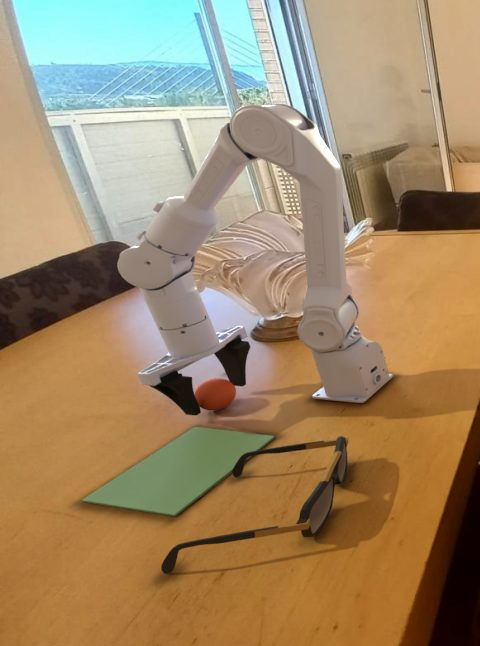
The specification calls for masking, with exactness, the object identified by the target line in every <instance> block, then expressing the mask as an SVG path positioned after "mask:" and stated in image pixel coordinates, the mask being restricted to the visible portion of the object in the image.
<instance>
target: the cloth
mask: <svg viewBox="0 0 480 646" xmlns="http://www.w3.org/2000/svg"><path fill="white" fill-rule="evenodd" d="M275 438H276V436H275V435H268V434H261V433H253V432H252V433H251V432H244V431H234V430H226V429H219V428H218V429H217V428H210V427H209V428H208V427H200V426H194V427H192V428H190V429H189V430H187V431H186V432H184V433H183V434H181V435H179V436H178V437H177V438H175V439H173V440H172V441H170V442H169V443H167V444H166V445H164V446H163V447H161V448H159V449H158V450H156V451H155V452H153V453H152V454H151V455H149V456H147V457H146V458H144V459H142V460H141V461H139V462H138V463H137V464H135V465H133V466H132V467H130V468H128V469H127V470H125V471H124V472H122V473H120V474H119V475H118V476H116V477H115V478H113V479H111V480H110V481H109V482H107V483H106V484H104V485H102V486H100V487H99V488H98V489H96V490H94V491H93V492H92V493H90V494H89V495H87V496H86V497H84V498H82V499H81V502H82V503H87V504H93V505H99V506H106V507H113V508H120V509H125V510H131V511H139V512H142V513H143V512H144V513H149V514H150V513H151V514H157V515H163V516H170V517H177V516H178V515H180V514H181V513H182V512H183V511H184V510H186V509H187V508H189V506H191V505H192V504H194V503H195V502H196V501H197V500H198V499H199V498H200V497H202V496H204V495H205V494H206V493H207V492H208V491H210V490H211V489H212V488H214V487H215V486H216V485H218V484H219V483H220V482H221V481H222V480H224V479H226V477H228V476H229V475H230V474H232V470H233V468H234V466H235V464H236V463H237V461H238V460H239V458H240V457H241V456H242V455H243V454H245V453H247V452H252V451H257V450H262V449H263V448H264V447H265V446H266V445H268V444H269V443H270V442H272V441H273V440H274V439H275ZM251 457H252V456H249V457H247V458H246V461H248V460H249V459H250V458H251Z"/></svg>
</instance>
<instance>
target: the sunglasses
mask: <svg viewBox="0 0 480 646" xmlns="http://www.w3.org/2000/svg"><path fill="white" fill-rule="evenodd" d="M348 444H349V437H346V436H343V435H340V436H337V438H333V439H327V440H326V439H325V440H318V441H310V442H303V443H302V442H301V443H295V444H289V445H282V446H277V447H271V448H270V447H269V448H264V449H263V448H262V449H260V450H257V451H252V452H247V453H245V454H243V455H242V456H241V457H240V458H239V460H238V461H237V463H236V464H235V466H234V468H233V470H232V472H231V474H232V476H233V477H234V478H239V477H241V475H242V474H243V472H244V468H245V464H246V461H247V460H246V458H247V457H249V456H251V457H254V456H259V455H267V454H269V455H270V454H283V453H291V452H299V451H307V450H315V449H321V448H328V447H335V448H334V451H333V455H332V457H331V459H330V461H329V462H328V464H327V466H326V468H325V471H324V473H323V475H322V477H321V479H320V481H319V482H318V483H317V485H316V486H315V488H314V489H313V491H312V492H311V493H310V495H309V496H308V497H307V499H306V500H305V502H304V503H303V504H302V506H301V508H300V511H299V516H298V520H297V521H296V522H295V523H289V524H288V523H287V524H282V525H275V526H269V527H263V528H256V529H250V530H246V531H245V530H244V531H239V532H234V533H233V532H232V533H227V534H221V535H217V536H212V537H206V538H200V539H196V540H191V541H186V542H181V543H178V544H176V545H174V546H173V547H172V548H171V549H170V550H169V552H168V553H167V555H166V556H165V557H164V559H163V562H162V564H161V567H160V569H161V572H162V573H163V574H165V575H169V574H171V573H173V571H174V570H175V567H176V564H177V559H178V555H179V552H180V551H181V550H183V549H187V548H192V547H193V548H194V547H198V546H205V545H218V544H225V543H226V544H227V543H233V542H237V541H244V540H249V539H257V538H264V537H268V536H269V537H270V536H275V535H276V536H277V535H282V534H287V533H294V532H298V531H300V532H301V535H302V537H303V538H314V537H315V536H318V534H319V533H320V532H321V530H323V528H324V526H325V524H326V523H327V521H328V519H329V517H330V514H331V512H332V508H333V504H334V496H335V487H336V486H337V485H339V486H340V485H343V484H344V482H345V480H346V476H347V471H348V449H347V446H348Z"/></svg>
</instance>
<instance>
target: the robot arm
mask: <svg viewBox="0 0 480 646" xmlns="http://www.w3.org/2000/svg"><path fill="white" fill-rule="evenodd" d="M261 160H263V161H265V162H267V163H270V164H273V165H275V166H276V167H279V168H280V169H282V170H283V171H284V172H285V173H287V174H288V175H290V176H291V177H292V178H293V179H295V180H296V181H297V182H298V184H299V193H300V206H301V207H300V209H301V219H302V233H303V247H304V258H305V259H304V260H305V270H306V271H305V272H306V285H307V288H306V294H305V297H304V302H303V306H302V311H303V315H302V319H301V320H300V322H299V324H298V327H297V336H298V338H299V341H300V342H301V343H302V344H303V346H305V347H307V348H308V349H310V351H311V353H312V357H313V359H314V363H315V366H316V369H317V372H318V375H319V377H320V381H321V384H322V387H321V388H320V389H318V390H317V391H316V392H314V393H313V394H312V395H311V398H312V399H314V400H323V401H324V400H325V401H336V402H346V403H354V404H363V403H365V402H367V401H368V400H369V399H370V398H371V397H372V396H374V395H375V394H376V393H377V392H378V391H379V390H380V389H381V388H383V386H384V385H386V384H387V383H388V382H389V381H390V380H391V379H392V378H393V377H394V375H393V373H389V369H388V366H387V362H386V358H385V354H384V351H383V348H382V346H381V345H380V344H379V343H378V342H376V341H373V340H371V339H368V338H366V337H364V336H363V334H362V333H361V330H360V328H359V327H358V326H357V324H356V321H357V319H358V317H359V314H360V308H359V305H358V303H357V301H356V300H355V298H354V296H353V291H352V290H353V288H352V285H350V284H349V283H348V282H347V268H346V267H347V265H346V248H345V247H346V244H345V224H344V223H345V221H344V201H343V179H342V178H343V177H342V168H341V166H340V164H339V162H338V161H337V159H336V158H335V156H334V155H333V153H332V151H331V150H330V148H329V146H328V145H327V144H326V143H325V141H324V139H323V138H322V136H321V134H320V132H319V128H318V126H317V123H315V122H314V121H313V120H311V119H310V118H309V117H307V116H306V115H305V114H304V113H303V112H301V110H299V109H297V108H295V107H294V106H292V105H288V104H284V103H274V104H271V105H261V104H246V105H243V106H240V107H239V108H237V109H236V110H235V111H234V112H233V114H232V115H231V117H230V120H229V122H226V123H225V124H223V126H221V128H220V129H219V131H218V134H217V136H216V139H215V141H214V143H213V145H212V146H211V148H210V149H209V152H208V153H207V154H206V157H205V158H204V160H203V161H202V164H201V165H200V167H199V169H198V170H197V172H196V174H195V175H194V177H193V179H192V181H191V182H190V184H189V186H188V187H187V190H186V191H185V194H184V195H180V196H179V195H177V196H171V197H168V198H167V199H166V200H162V201H159V202H156V204H155V205H154V207H153V209H152V210H153V211H154V212H156V214H155V217H154V218H153V219H152V221H151V222H150V224H149V225H148V227H147V229H146V230H143V231H140V232H139V233H138V235H137V236H136V239H137V240H138V241H139V242H138V246H136V245H135V246H132V247H129V248H126V249H124V250H123V251H121V252H120V253H119V258H118V260H117V265H116V266H117V270H118V273H119V274H120V276H121V278H122V279H124V281H126V282H127V283H129V284H130V285H132V286H134V287H136V288H138V289H139V291H140V293H141V295H142V297H143V300H144V302H145V303H146V306H147V308H148V310H149V312H150V314H151V317H152V319H153V321H154V323H155V325H156V327H157V330H158V332H159V334H160V336H161V338H162V340H163V342H164V344H165V347H166V349H167V351H168V352H167V353H166V354H164V356H163V355H162V357H160V358H159V359H157V360H156V361H154V363H152V364H150V365H149V366H148V367H146V368H144V369H142V370H140V371H139V372H137V376H138V378H139V380H140V382H141V385H143V386H149V387H150V388H152V389H154V390H156V391H158V392H160V393H161V394H163V395H164V396H165V397H167V398H168V399H170V400H171V401H172V402H173V403H175V405H176V406H177V407H178V408H179V409H180V410H181V411H182V412H183V413H184V414H185V415H188V416H198V415H200V414H201V412H202V411H201V407H200V406H199V404H198V402H197V400H196V398H195V391H194V386H193V377H192V376H188V375H187V376H186V375H183V373H179V371H182V370H183V369H185V368H187V367H189V366H190V365H193V364H194V363H196V362H199V361H200V360H202V359H205V358H207V357H210V356H211V355H214V356H215V357H216V359H217V360H218V361H219V363H220V365H221V366H222V368H223V370H224V372H225V375H226V377H227V380H228V381H230V382H231V383H232V384H233V385H234V386H235V387H245V386H246V385H247V375H246V369H247V368H246V367H247V360H248V355H249V352H250V350H251V344H250V342H249V341H247V340H245V339H246V338H248V337H249V336H248V333H247V330H246V328H245V326H243V325H233V326H230V327H227V328H226V329H223V330H220V331H218V332H216V330H215V327H214V325H213V323H212V320H211V318H210V315H209V313H208V311H207V309H206V306H205V303H204V301H203V299H202V296H201V293H200V291H199V289H198V287H197V283H196V281H195V280H196V278H195V276H194V274H193V270H194V268H195V267H196V263H197V257H196V255H197V253H198V251H199V250H200V248H201V247H202V246H203V244H204V243H205V241H206V240H207V238H208V237H209V236H210V234H211V233H212V232H213V230H214V229H215V227H216V225H217V224H218V223H219V217H218V215H217V213H216V210H215V207H216V206H217V205H218V204H219V202H220V201H221V200H222V198H223V197H224V195H226V194H227V192H228V191H229V189H230V188H231V187H232V185H233V184H234V183H235V181H236V180H237V179H238V178H239V177H240V175H241V173H242V172H243V171H244V170H245V168H246V167H247V166H248V165H250V164H253V163H255V162H258V161H261Z"/></svg>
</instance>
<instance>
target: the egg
mask: <svg viewBox="0 0 480 646" xmlns="http://www.w3.org/2000/svg"><path fill="white" fill-rule="evenodd" d="M194 395H195V398H196V400H197V402H198V404H199V406H200V409H203V410H206V411H209V412H210V411H211V412H212V411H213V412H214V411H215V412H216V411H220V410H223V409H225V408H227V407H228V406H230V405H231V404H233V402H234V401H235V398H236V396H237V389H236V386H234V385H233V384H232V383H231V382H230V381H229V379H226V378H220V377H215V378H210V379H207V380H205V381H203V382H202V383H200V384H199V385H198V387H197V388H196V389H195V391H194Z"/></svg>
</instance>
